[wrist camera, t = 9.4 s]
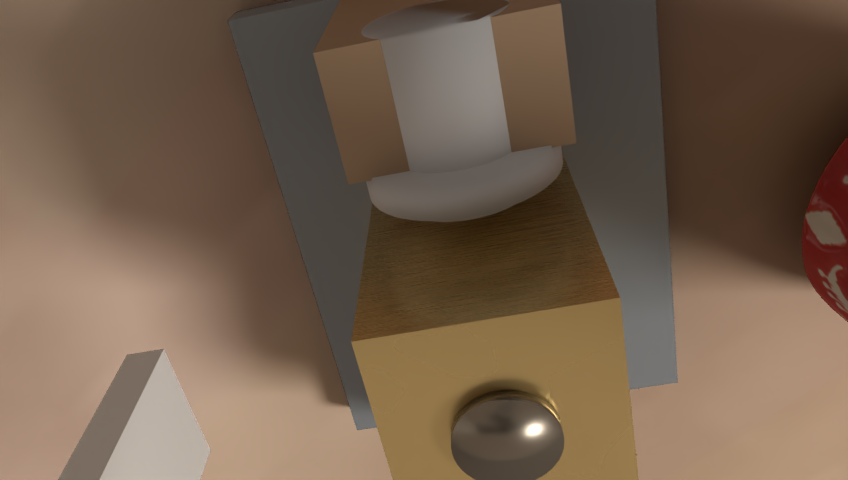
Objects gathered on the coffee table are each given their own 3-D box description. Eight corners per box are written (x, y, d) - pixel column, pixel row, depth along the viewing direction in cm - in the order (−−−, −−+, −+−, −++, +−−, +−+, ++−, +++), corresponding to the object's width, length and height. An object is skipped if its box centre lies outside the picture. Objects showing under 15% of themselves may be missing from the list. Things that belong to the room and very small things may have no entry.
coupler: (379, 159, 20) (349, 352, 13) (551, 126, 20) (624, 307, 12) (418, 316, 22) (412, 556, 15) (573, 291, 22) (645, 525, 15)
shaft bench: (236, 11, 19) (144, 100, 13) (641, -73, 18) (748, -20, 12) (359, 409, 25) (337, 597, 19) (668, 362, 24) (749, 545, 18)
